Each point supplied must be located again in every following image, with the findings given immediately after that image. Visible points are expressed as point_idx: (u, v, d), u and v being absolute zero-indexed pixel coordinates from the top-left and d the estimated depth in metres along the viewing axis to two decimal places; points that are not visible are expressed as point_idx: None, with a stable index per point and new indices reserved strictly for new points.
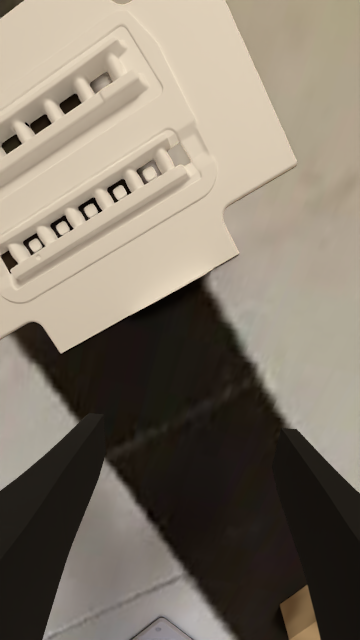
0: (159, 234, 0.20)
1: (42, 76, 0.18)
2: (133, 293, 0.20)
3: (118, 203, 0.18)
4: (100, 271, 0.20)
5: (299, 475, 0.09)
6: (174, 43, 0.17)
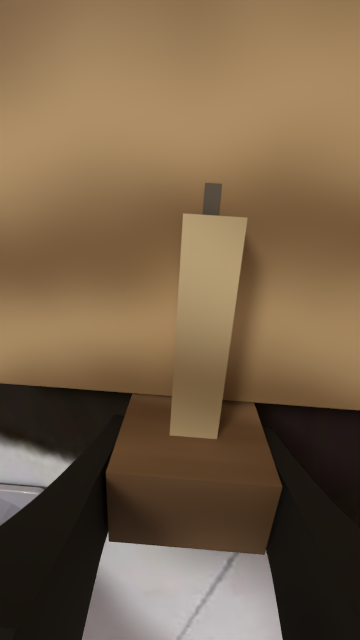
0: None
1: None
2: None
3: None
4: None
5: None
6: None
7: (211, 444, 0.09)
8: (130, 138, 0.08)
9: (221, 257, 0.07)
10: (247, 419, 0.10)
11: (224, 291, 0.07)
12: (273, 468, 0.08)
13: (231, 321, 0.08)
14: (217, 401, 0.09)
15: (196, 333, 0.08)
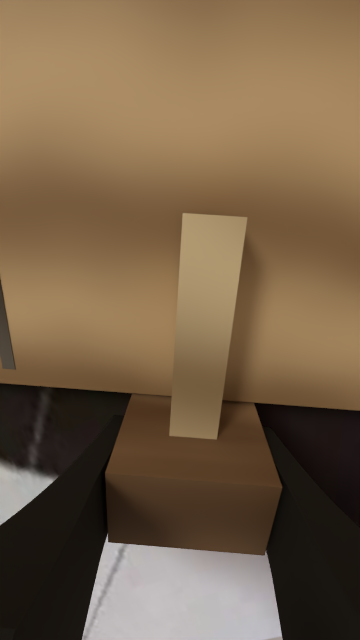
0: None
1: None
2: None
3: None
4: None
5: None
6: None
7: (211, 444, 0.09)
8: None
9: (221, 256, 0.07)
10: (247, 419, 0.10)
11: (224, 291, 0.07)
12: (273, 468, 0.08)
13: (231, 321, 0.08)
14: (217, 401, 0.09)
15: (196, 333, 0.08)
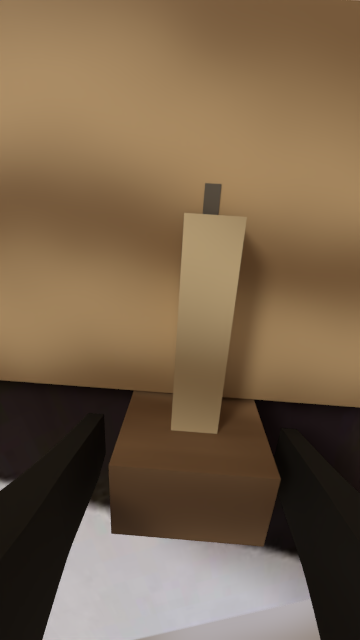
0: None
1: None
2: None
3: None
4: None
5: (299, 475, 0.09)
6: None
7: (211, 438, 0.09)
8: None
9: (222, 255, 0.07)
10: (247, 414, 0.10)
11: (224, 288, 0.08)
12: (272, 461, 0.08)
13: (231, 318, 0.08)
14: (217, 396, 0.09)
15: (197, 329, 0.08)
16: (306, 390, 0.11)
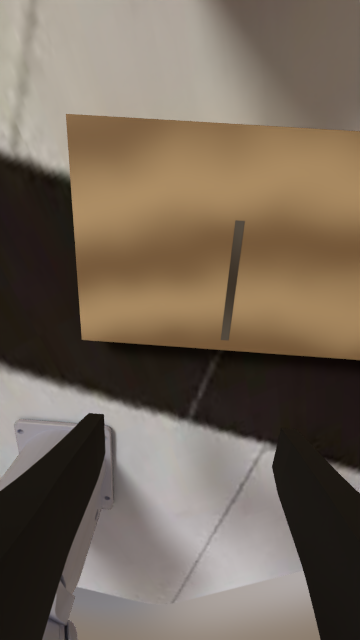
0: None
1: None
2: None
3: None
4: None
5: (299, 475, 0.09)
6: None
7: None
8: (194, 196, 0.14)
9: None
10: None
11: None
12: None
13: None
14: None
15: None
16: None
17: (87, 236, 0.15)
